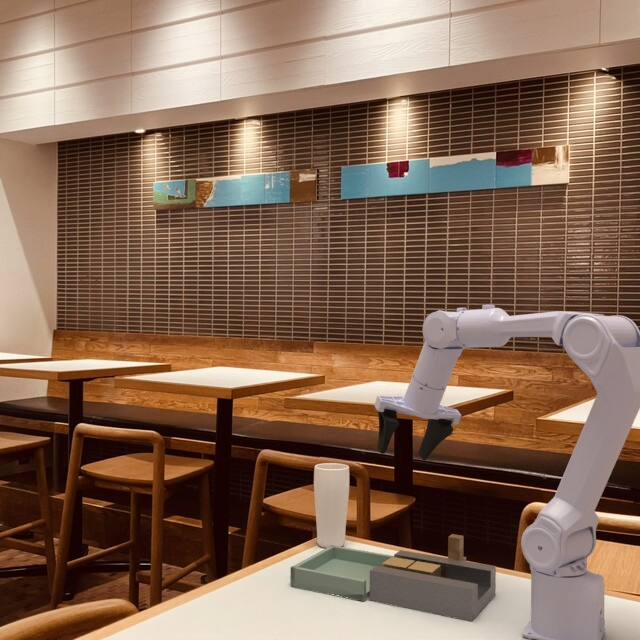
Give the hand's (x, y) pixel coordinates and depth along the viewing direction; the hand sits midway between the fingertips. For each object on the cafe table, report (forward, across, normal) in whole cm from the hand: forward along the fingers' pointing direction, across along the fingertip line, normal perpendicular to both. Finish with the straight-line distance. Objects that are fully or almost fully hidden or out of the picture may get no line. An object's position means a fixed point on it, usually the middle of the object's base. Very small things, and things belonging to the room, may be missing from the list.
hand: (401, 453), depth 123 cm
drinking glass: (+28, +1, -11) cm, 30 cm away
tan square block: (+14, -4, +15) cm, 20 cm away
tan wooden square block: (+16, -1, +12) cm, 20 cm away
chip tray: (+21, +5, +7) cm, 23 cm away
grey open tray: (+15, -5, +16) cm, 23 cm away
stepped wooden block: (+17, -13, +8) cm, 23 cm away
